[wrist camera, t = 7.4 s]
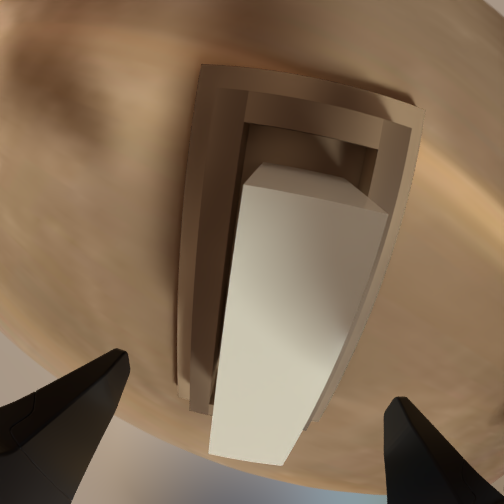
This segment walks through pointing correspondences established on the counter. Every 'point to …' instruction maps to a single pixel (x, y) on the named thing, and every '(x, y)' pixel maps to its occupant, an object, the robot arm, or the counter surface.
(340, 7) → the counter surface
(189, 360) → the rack
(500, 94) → the counter surface
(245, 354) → the white rectangular block
